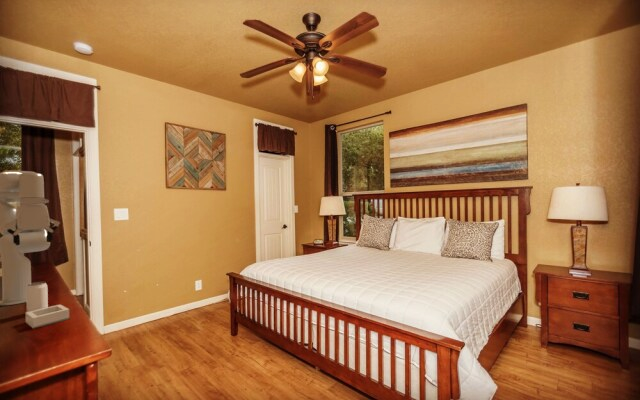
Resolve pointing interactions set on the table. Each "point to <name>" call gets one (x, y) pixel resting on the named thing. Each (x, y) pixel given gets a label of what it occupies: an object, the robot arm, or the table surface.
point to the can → (36, 296)
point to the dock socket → (47, 316)
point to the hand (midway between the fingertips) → (33, 243)
